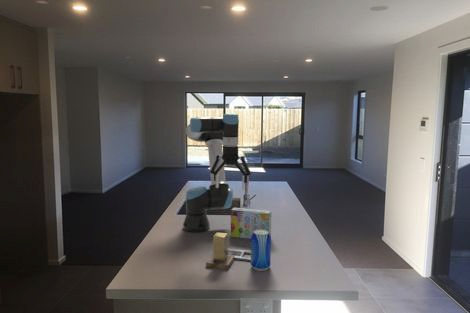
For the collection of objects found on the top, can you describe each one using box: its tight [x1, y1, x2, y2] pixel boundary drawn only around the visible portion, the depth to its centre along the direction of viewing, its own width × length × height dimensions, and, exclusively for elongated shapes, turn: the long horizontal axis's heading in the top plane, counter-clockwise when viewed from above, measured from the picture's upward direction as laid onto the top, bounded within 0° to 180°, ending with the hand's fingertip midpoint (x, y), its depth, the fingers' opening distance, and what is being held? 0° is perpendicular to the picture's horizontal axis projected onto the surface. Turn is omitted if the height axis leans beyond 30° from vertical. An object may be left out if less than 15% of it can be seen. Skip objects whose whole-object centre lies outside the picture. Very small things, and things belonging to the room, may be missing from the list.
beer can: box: [250, 229, 272, 272], centre depth 151 cm, size 8×8×16 cm
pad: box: [205, 253, 235, 271], centre depth 156 cm, size 10×10×2 cm
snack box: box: [230, 207, 272, 240], centre depth 186 cm, size 21×6×15 cm, turn 71°
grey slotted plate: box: [227, 248, 251, 262], centre depth 163 cm, size 20×9×1 cm, turn 75°
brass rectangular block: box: [212, 232, 229, 262], centre depth 155 cm, size 5×5×11 cm
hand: (230, 188), depth 174 cm, fingers open, 13 cm apart
